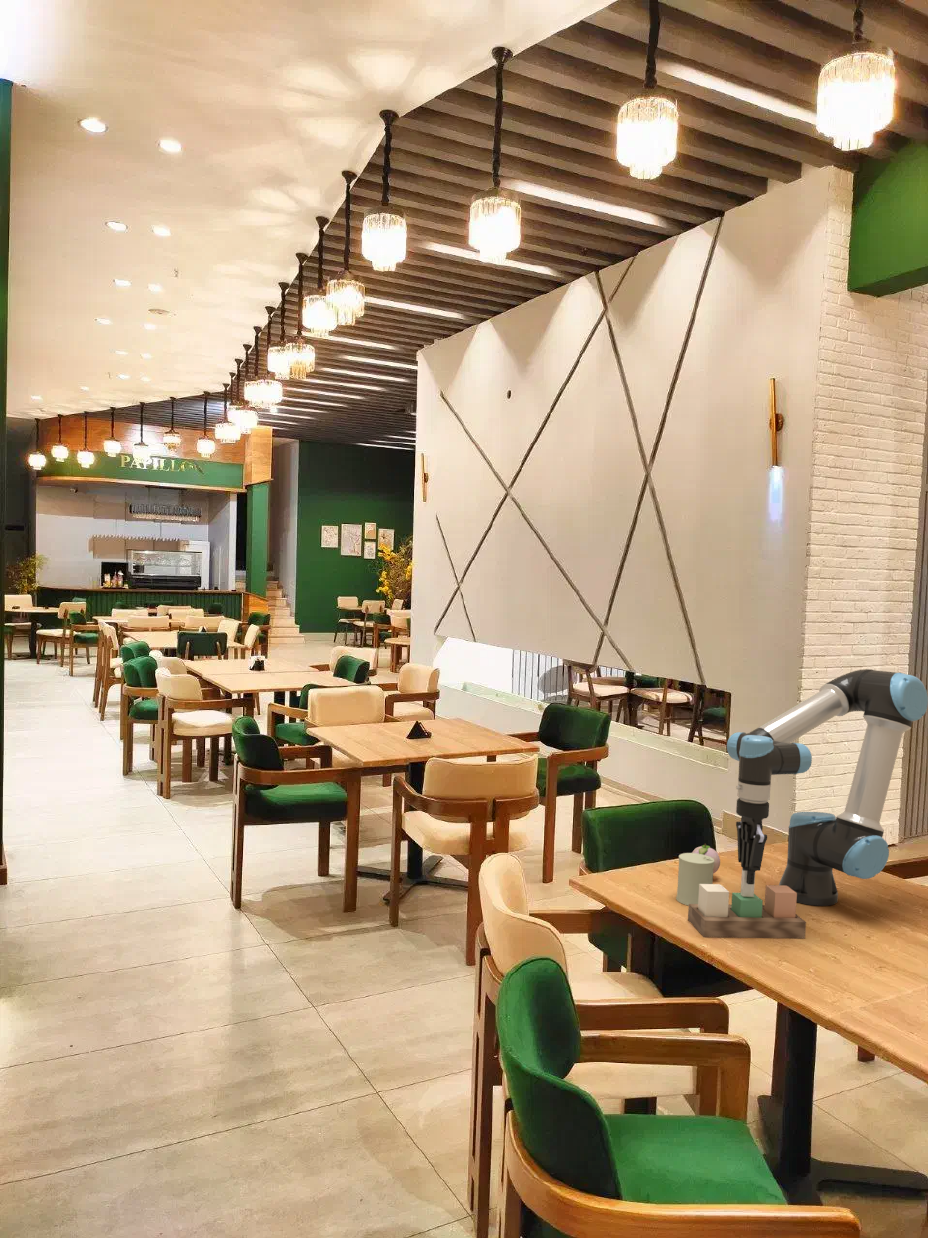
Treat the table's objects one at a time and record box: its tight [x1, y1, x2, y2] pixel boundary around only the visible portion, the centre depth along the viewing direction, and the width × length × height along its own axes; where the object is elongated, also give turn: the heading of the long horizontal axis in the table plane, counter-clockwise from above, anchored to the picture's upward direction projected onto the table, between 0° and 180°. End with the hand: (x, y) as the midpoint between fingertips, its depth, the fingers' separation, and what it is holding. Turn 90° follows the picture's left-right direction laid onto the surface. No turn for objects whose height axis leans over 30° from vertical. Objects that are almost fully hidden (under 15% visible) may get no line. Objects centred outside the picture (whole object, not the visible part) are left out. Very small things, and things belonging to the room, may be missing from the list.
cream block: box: [698, 883, 730, 917], centre depth 215 cm, size 5×5×7 cm
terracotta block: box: [764, 884, 797, 918], centre depth 216 cm, size 5×5×7 cm
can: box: [675, 852, 714, 907], centre depth 234 cm, size 9×9×12 cm
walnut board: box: [687, 904, 807, 939], centre depth 216 cm, size 25×11×4 cm, turn 95°
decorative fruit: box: [691, 843, 721, 875], centre depth 254 cm, size 9×8×10 cm
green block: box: [730, 892, 764, 918], centre depth 215 cm, size 5×5×7 cm
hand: (747, 895), depth 215 cm, fingers closed
